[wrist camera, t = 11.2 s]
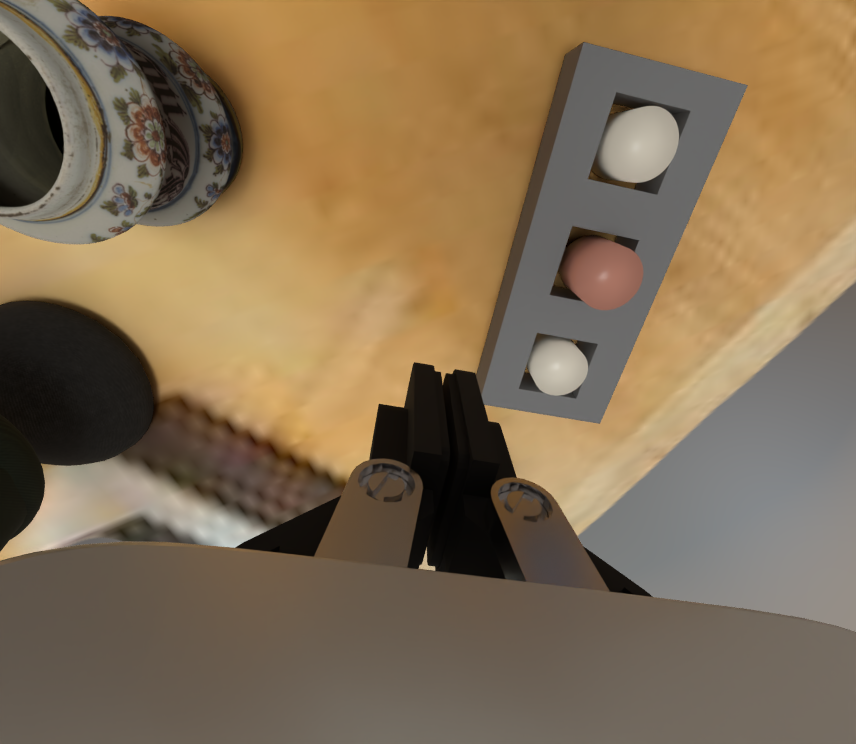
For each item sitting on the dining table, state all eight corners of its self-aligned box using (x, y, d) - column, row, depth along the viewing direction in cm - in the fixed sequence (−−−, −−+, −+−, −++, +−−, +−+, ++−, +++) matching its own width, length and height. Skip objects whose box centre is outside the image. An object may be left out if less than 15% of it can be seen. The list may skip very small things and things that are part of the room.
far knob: (529, 322, 42) (543, 341, 37) (577, 331, 42) (596, 351, 38) (515, 367, 44) (526, 390, 39) (561, 375, 44) (577, 399, 40)
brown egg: (570, 229, 36) (591, 239, 31) (625, 241, 36) (654, 253, 32) (551, 287, 38) (568, 304, 33) (604, 297, 38) (628, 315, 34)
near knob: (598, 105, 34) (625, 98, 30) (656, 119, 34) (690, 114, 30) (577, 172, 36) (599, 174, 32) (632, 185, 37) (661, 188, 32)
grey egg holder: (565, 54, 33) (583, 41, 29) (712, 92, 34) (747, 85, 30) (473, 383, 45) (478, 403, 41) (585, 402, 46) (599, 423, 42)
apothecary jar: (85, 20, 31) (-275, -127, 15) (259, 61, 32) (102, -36, 16) (106, 200, 36) (-144, 236, 20) (255, 229, 37) (134, 283, 21)
